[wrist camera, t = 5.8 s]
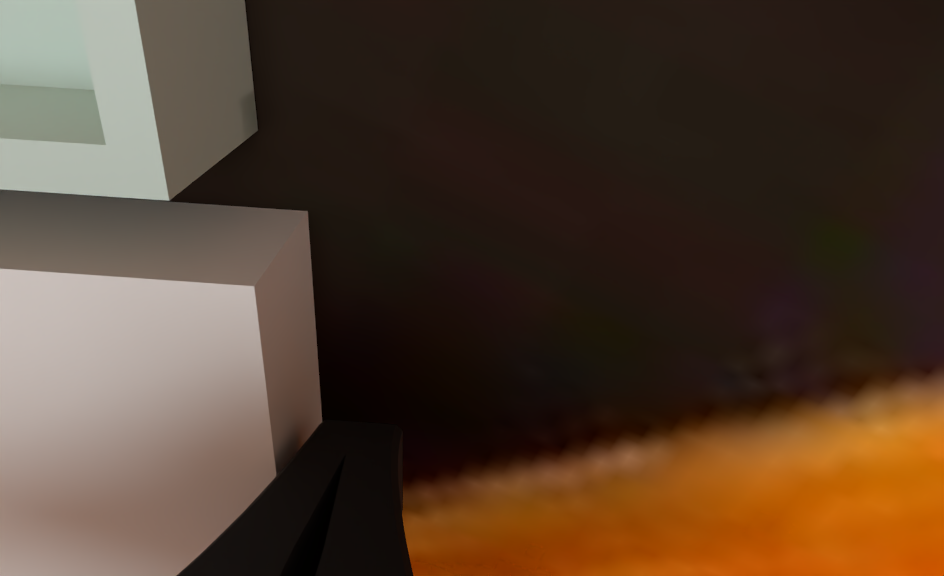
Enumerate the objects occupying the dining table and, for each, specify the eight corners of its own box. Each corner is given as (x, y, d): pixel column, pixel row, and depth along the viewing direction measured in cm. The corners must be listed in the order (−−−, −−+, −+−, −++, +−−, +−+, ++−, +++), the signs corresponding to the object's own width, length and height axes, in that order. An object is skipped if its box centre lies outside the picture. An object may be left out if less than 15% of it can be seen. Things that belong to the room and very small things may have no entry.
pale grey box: (336, 537, 15) (299, 667, 12) (28, 513, 15) (-74, 637, 13) (314, 201, 11) (254, 286, 9) (-97, 174, 11) (-279, 249, 9)
